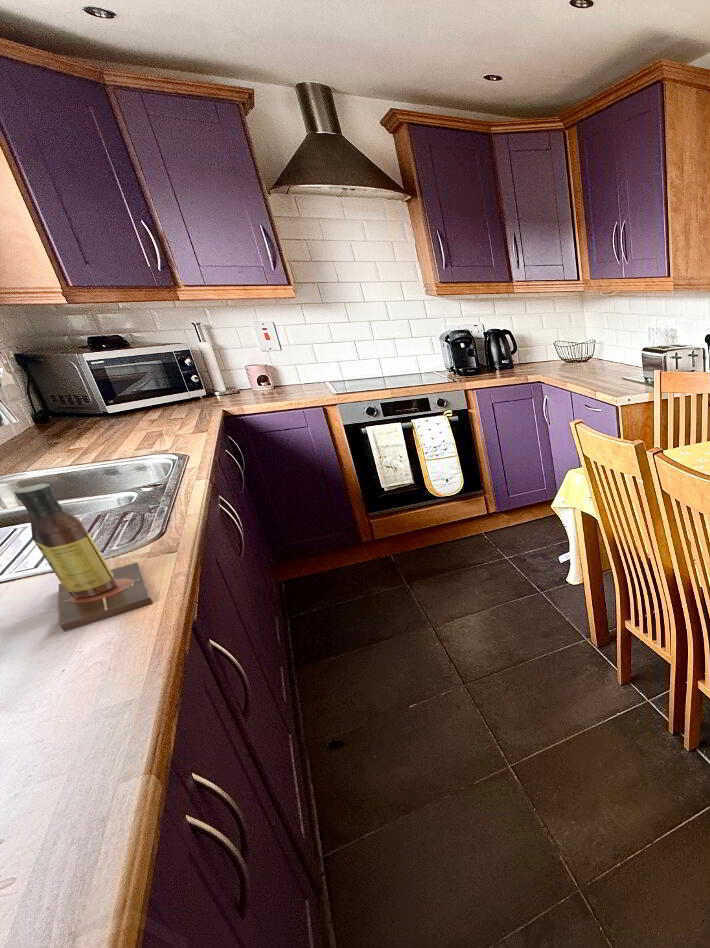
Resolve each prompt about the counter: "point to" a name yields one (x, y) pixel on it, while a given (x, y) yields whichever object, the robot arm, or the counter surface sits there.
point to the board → (105, 599)
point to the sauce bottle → (65, 544)
